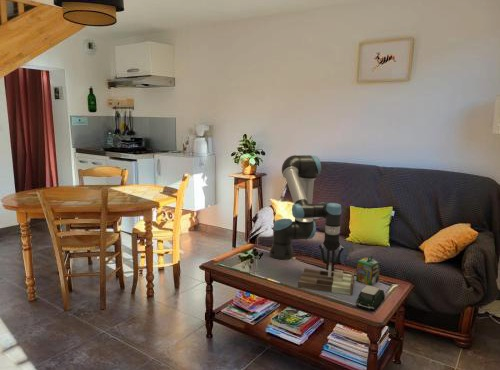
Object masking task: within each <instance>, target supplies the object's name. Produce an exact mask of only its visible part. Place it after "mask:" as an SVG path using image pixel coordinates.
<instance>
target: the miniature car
mask: <svg viewBox="0 0 500 370" xmlns="http://www.w3.org/2000/svg"><path fill="white" fill-rule="evenodd" d="M385 296H386V295H385V291H384V289H380V288H379V287H376V286H373V285H371V286H370V285H368V284H366V285H365V286H363V287H362V288H361V290H360V292H359V294H358V296H357V299H356V301H355V305H356V307H360V306H361V307H364V308H368V309H371V310H372V311H374V310H377V309H378V306H379V305H380V304H381V302H384V301H385ZM383 300H384V301H383Z"/></svg>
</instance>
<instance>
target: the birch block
mask: <svg viewBox="0 0 500 370" xmlns="http://www.w3.org/2000/svg"><path fill="white" fill-rule="evenodd" d="M333 272H334V276H333V281H338V282H342V280H343V274H344V270H339V269H334V270H333Z"/></svg>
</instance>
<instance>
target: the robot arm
mask: <svg viewBox="0 0 500 370" xmlns="http://www.w3.org/2000/svg"><path fill="white" fill-rule="evenodd" d="M321 172H322V164H321V160H320V158H319V157H318V156H316V155H311V154H310V155H308V154H307V155H305V154H304V155H297V154H295V155H290V156H289V157H286V159H285V160H284V162H283V164H282V166H281V173H282V176H283V178H284V179H285V181H286V184H287V186H288V190H289V192H290V196H291V199H292V203H293V205H292V207H291V212H292V213H291V214H292V216H293V218H294V221H293V220H292V219H291V218H280V219H276V220H275V221H274V222H273V227H272V230H273V231H272V232H273V233H272V236H273V237H272V245H271V247H270V250H269V256H270V257H271V258H273V259H275V260H290V259H292V258H294V250H293V246H292V240H293V241H294V240H295V241H296V240H297V241H298V240H312V239H313V238H314V237H315V235H316V233H317V232H316V231H317V227H316V226H317V224H316V221H314V219H315V218H321V219H325V224H324V225H325V227H324V241H323V243H320V244H319V245H318V248H319V249H320V253H321V258H322V263H323V264H325V265H326V269H325V271H328V277H331V272H334V270H335V265H336V266H337V265H338V263H339V260H340V259H341V254H342V253H343V251H344V249H345V247H344V246H342V245H341V243H340V237H341V235H340V234H341V220H342V219H341V218H342V205H341V204H339V203H337V202H329V203H328V202H324V201H322V202H318V203H313V200H314V197H313V196H314V187H315V186H314V185H315V184H314V183H315V180H317V178H318V175H320V174H321ZM324 248H325V249H326V253H325V249H324ZM337 250H338V253H337V257H335V256H336V251H337ZM325 254H326V255H325ZM330 255H331V256H330ZM330 257H331V258H330ZM330 260H331V263H330Z"/></svg>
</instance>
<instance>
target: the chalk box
mask: <svg viewBox="0 0 500 370" xmlns="http://www.w3.org/2000/svg"><path fill="white" fill-rule="evenodd" d="M373 256H374V254H372V255H369V256H368V257H366V256H365V257H363V258H361V259H359V260H357V265H356V279H355V280H356V282H360V283H363V284H366V285H367V286H370V285H371V286H373V285H374V283H375V282H376V283H378V282H379V281H378V280H380V279H379V278H380V270H381V261H380V260H377V259H374V258H373ZM377 281H378V282H377ZM376 283H375V284H376ZM372 284H373V285H372Z"/></svg>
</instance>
